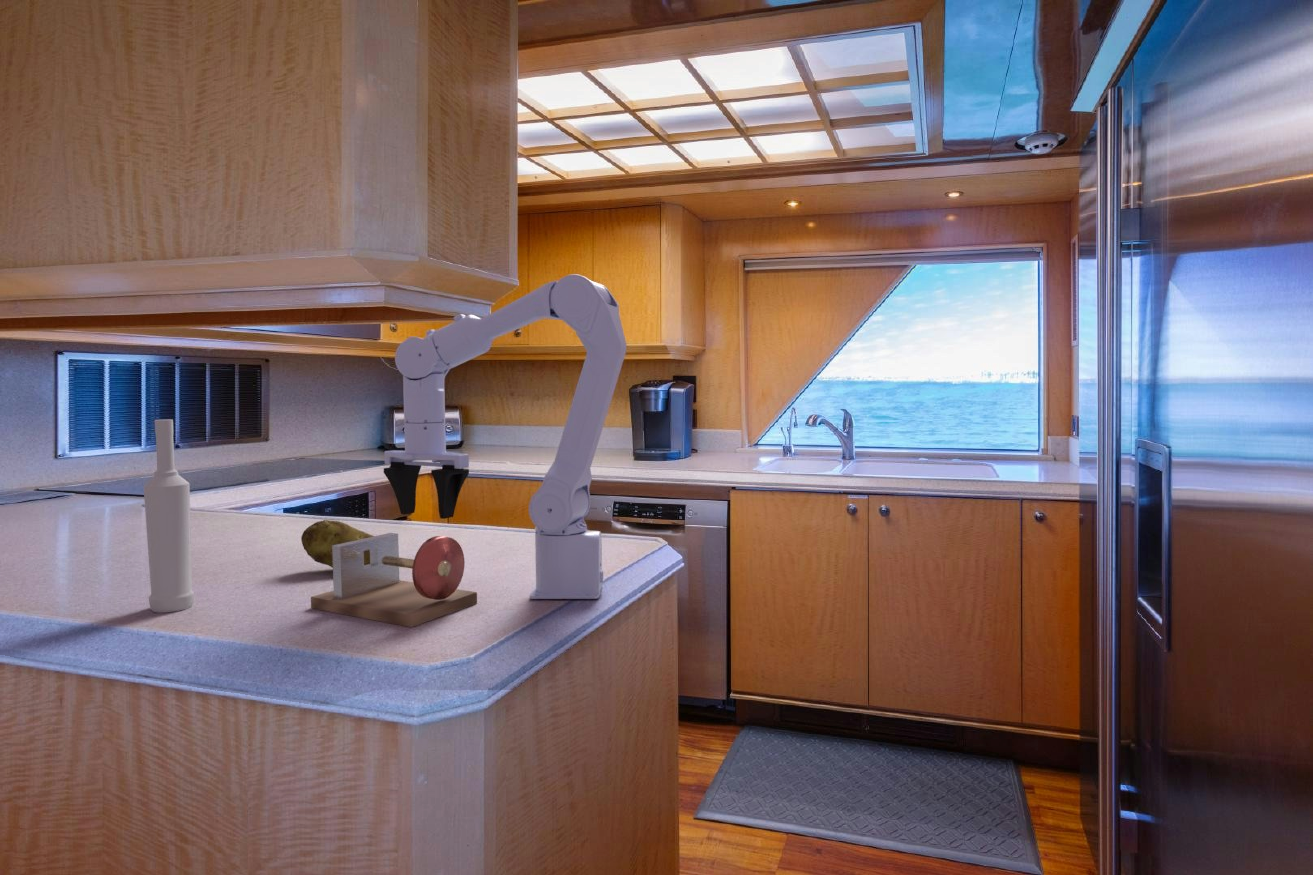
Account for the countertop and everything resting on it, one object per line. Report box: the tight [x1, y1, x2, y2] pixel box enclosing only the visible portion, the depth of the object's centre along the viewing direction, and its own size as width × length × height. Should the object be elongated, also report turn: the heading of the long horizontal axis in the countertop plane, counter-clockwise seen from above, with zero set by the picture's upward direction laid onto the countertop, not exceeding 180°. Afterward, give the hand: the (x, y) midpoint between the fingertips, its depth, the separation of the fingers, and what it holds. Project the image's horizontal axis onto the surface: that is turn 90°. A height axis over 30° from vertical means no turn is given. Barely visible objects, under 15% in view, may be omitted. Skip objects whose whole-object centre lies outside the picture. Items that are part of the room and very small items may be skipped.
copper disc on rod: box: [382, 535, 466, 600], centre depth 106 cm, size 11×8×8 cm
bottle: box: [143, 418, 195, 614], centre depth 106 cm, size 5×5×25 cm
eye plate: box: [332, 532, 400, 600], centre depth 110 cm, size 2×10×7 cm, turn 152°
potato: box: [301, 519, 375, 569], centre depth 128 cm, size 8×13×8 cm, turn 82°
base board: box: [310, 579, 478, 628], centre depth 108 cm, size 18×12×2 cm, turn 62°
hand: (427, 515), depth 117 cm, fingers open, 7 cm apart
